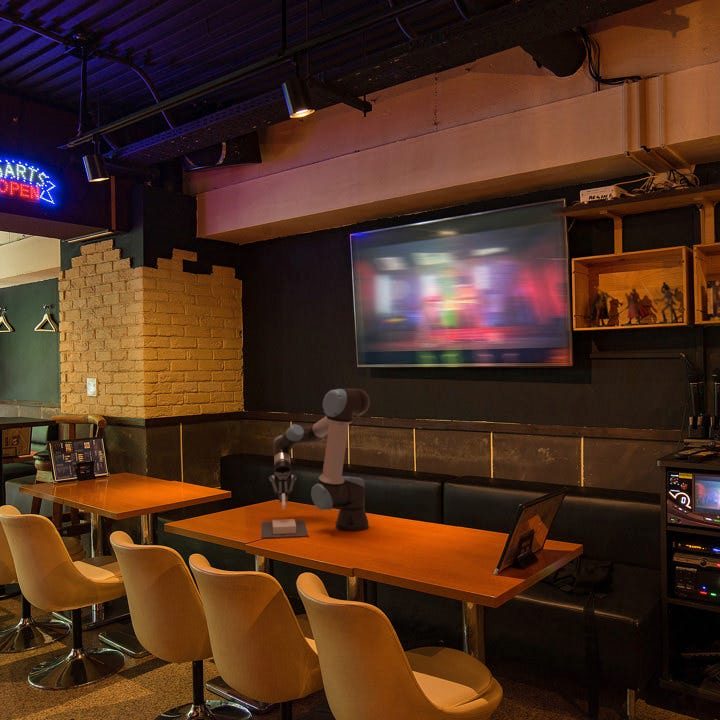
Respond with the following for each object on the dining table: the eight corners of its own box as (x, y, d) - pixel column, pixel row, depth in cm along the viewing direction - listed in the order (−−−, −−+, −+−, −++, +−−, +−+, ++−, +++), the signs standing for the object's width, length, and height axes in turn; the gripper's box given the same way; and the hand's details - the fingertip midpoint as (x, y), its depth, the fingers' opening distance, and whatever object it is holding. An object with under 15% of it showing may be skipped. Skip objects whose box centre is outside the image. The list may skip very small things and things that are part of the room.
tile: (272, 519, 309) (272, 527, 294) (294, 519, 311) (296, 526, 296) (272, 527, 309) (272, 534, 294) (294, 526, 311) (296, 533, 296)
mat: (261, 524, 320) (261, 521, 321) (304, 522, 323) (304, 520, 323) (261, 539, 291) (261, 537, 291) (308, 537, 294) (308, 534, 294)
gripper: (296, 469, 324) (298, 511, 307) (268, 470, 322) (269, 512, 306) (296, 459, 319) (298, 501, 302) (268, 460, 317) (269, 502, 300)
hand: (283, 507), depth 304 cm, fingers closed
